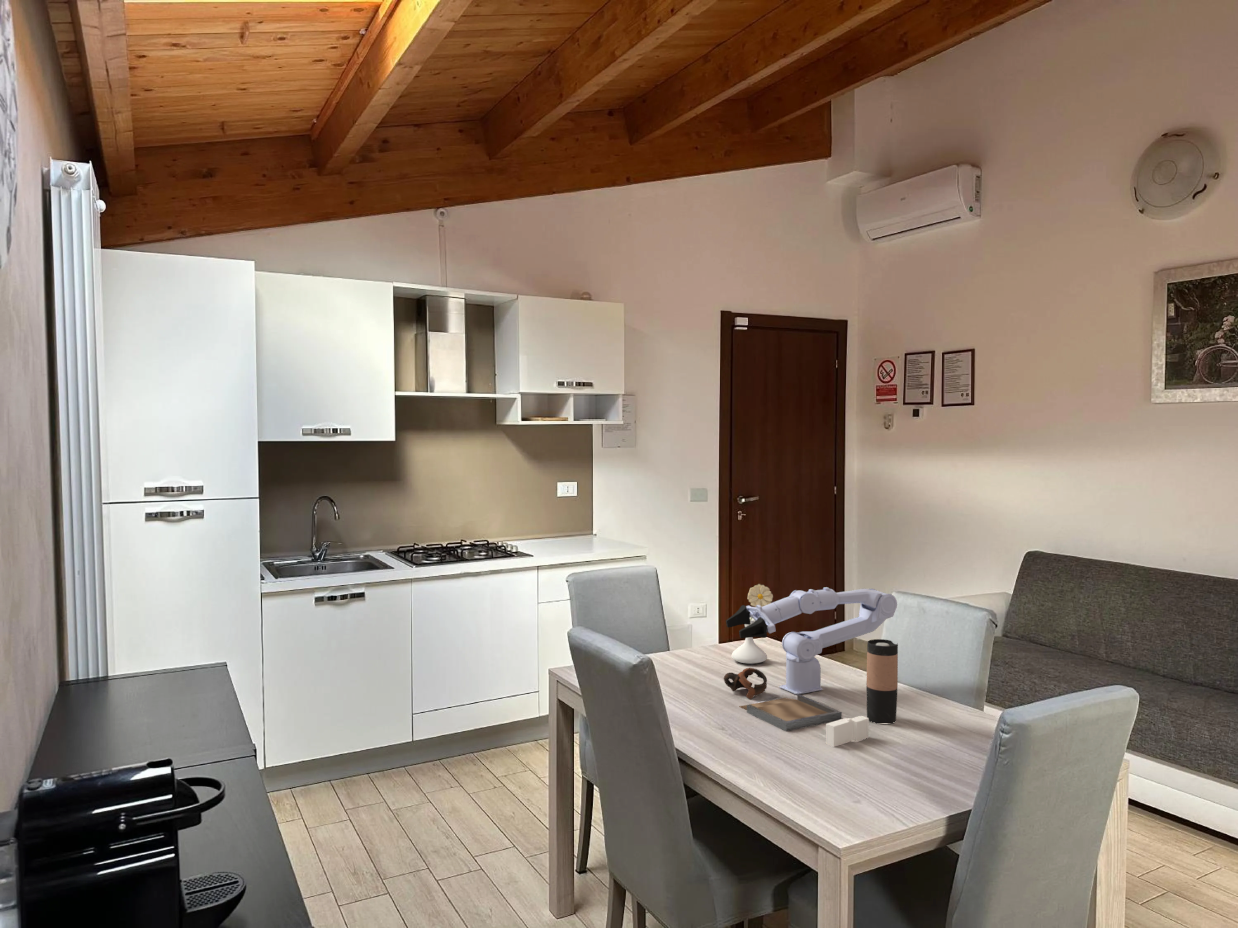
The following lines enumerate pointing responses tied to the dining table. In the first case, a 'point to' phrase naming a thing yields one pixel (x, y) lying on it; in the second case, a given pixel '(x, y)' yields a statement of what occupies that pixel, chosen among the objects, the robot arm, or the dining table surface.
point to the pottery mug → (746, 682)
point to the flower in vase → (749, 649)
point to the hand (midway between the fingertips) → (733, 629)
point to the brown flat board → (787, 708)
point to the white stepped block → (847, 730)
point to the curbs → (802, 722)
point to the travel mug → (882, 680)
